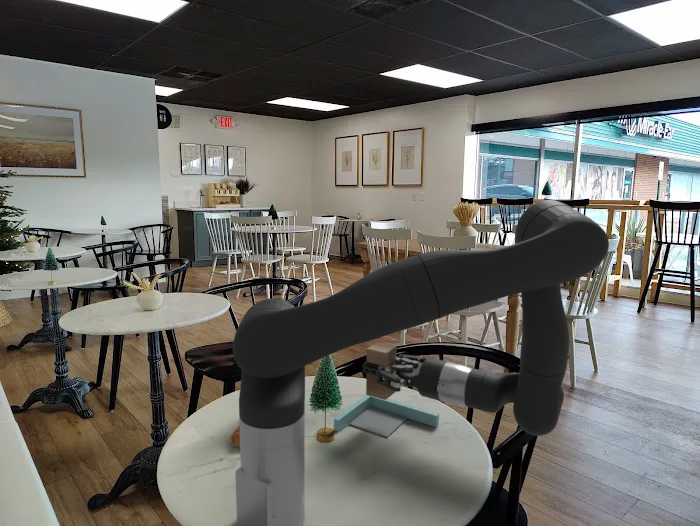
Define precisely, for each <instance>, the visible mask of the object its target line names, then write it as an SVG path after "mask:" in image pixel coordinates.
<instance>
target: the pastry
mask: <svg viewBox="0 0 700 526" xmlns="http://www.w3.org/2000/svg"><path fill="white" fill-rule="evenodd" d="M230 445H231V446H233V447H235V448H239V449H240V425H238V427H237V428H236V429H235V430H234V431H233V432H232V434H231V436H230Z"/></svg>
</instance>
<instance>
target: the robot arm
mask: <svg viewBox="0 0 700 526" xmlns="http://www.w3.org/2000/svg"><path fill="white" fill-rule="evenodd" d="M609 247H610V242H609V237H608V236H607V233H606V231H605V230H604V229H603V228H602V227H601V226H600V225H599V224H598V223H597V222H596V221H594V220H593V219H592V218H590V217H589V216H587V215H585V214H584V213H582V212H580V211H577V209H575V208H573V207H572V206H569V205H568V204H566V203H563V202H561V201H558V200H555V199H554V200H553V199H544V200H541V201H540V200H539V201H537V202H534V203H532V204H531V205H530V206H529V207H528V208H527V209H525V210H524V212H523V213H522V214H521V216H520V217H519V219H518V221H517V224H516V228H515V243H513V244H510V245H506V246H502V247H497V248H491V249H489V248H488V249H441V250H431V251H426V252H422V253H419V254H416V255H413V256H410V257H407V258H403V259H401V260H398V261H394V262H391V263H388V264H387V265H384V266H381V267H379V268H377V269H375V270H374V271H372V272H370V273H368V274H366V275H364V276H363V277H362V278H359V279H357V280H356V281H355V282H352V283H351V284H350V285H348V286H346V287H344V288H342V289H341V290H340V291H338V292H336V293H335V294H332V295H330V296H327V297H324V298H322V299H320V300H316V301H312V302H309V303H305V304H301V305H297V306H294V305H293V304H292V303H291V302H288V301H287V300H284V299H282V298H281V299H280V298H274V297H273V298H266V299H261V300H260V301H257V302H256V303H254V304H253V305H251V306H250V307H249V309H248V310H247V311H246V312H245V313H244V315H243V317H242V319H241V321H240V323H239V325H238V327H237V328H236V331H235V334H234V337H233V342H232V354H233V358H234V361H235V363H236V365H237V366H238V367H239V368H240V369H241V375H240V376H241V377H240V379H241V380H240V388H239V397H238V413H239V414H238V415H239V417H238V419H239V422H238V423H239V426H240V448H239V453H240V454H239V455H240V457H239V459H240V467H238V468H237V469H236V470H235V474H234V475H235V499H236V500H235V504H236V526H303V525H304V523H305V519H306V518H305V517H306V516H305V515H306V513H305V511H306V510H305V509H306V508H305V505H306V502H305V501H306V499H305V497H306V496H305V495H306V494H305V493H306V492H305V491H306V490H305V489H306V487H305V486H306V485H305V483H306V481H305V479H306V478H305V468H306V467H305V464H306V462H305V461H306V459H305V454H306V453H305V450H306V448H305V447H306V446H305V445H306V443H305V442H306V441H305V440H306V439H305V438H306V437H305V435H306V434H305V433H306V432H305V428H306V427H305V426H306V425H305V418H306V417H305V415H306V414H305V407H306V406H305V402H306V401H305V399H306V366H307V365H310V364H313V363H314V362H316V361H319V360H321V359H324V358H325V357H328V356H330V355H332V354H335V353H337V352H339V351H342V350H345V349H347V348H351V347H353V346H356V345H360V344H364V343H367V342H370V341H374V340H376V339H380V338H383V337H387V336H389V335H392V334H395V333H398V332H402V331H406V330H409V329H412V328H416V327H418V326H421V325H425V324H428V323H430V322H433V321H436V320H438V319H442V318H445V317H446V316H449V315H452V314H455V313H458V312H461V311H464V310H468V309H470V308H473V307H477V306H480V305H483V304H487V303H490V302H493V301H495V300H500V299H502V298H506V297H510V296H514V295H518V294H521V312H522V313H521V315H522V317H521V318H522V324H521V325H522V329H521V343H520V353H519V372H502V373H495V372H490V371H486V370H481V369H477V368H472V367H470V366H466V365H464V364H461V363H457V362H452V361H451V362H450V361H447V360H443V359H437V358H434V357H427V356H420V355H412V354H411V355H410V354H399V355H398V356H396V365H391V366H390V367H389V366H380V365H377V364H373V363H368V362H367V361H365V362H363V363H362V373H364V374H365V375H366V374H370V375H374V376H377V380H376V382H377V383H378V384H381V385H383V386H385V387H387V388H389V389H391V390H394V391H396V392H398V393H399V392H401V389H402V388H401V387H404V386H405V387H411V388H415V389H417V391H418V394H419V395H420V396H421V397H424V398H428V399H432V400H435V401H438V402H442V403H447V404H449V405H454V406H460V407H461V406H462V407H466V408H467V407H468V408H470V409H475V410H479V411H482V412H485V413H490V414H491V413H493V414H495V413H497V412H499V411H500V410H501V409H502V408H503V407H504V406H505V405H507V404H513V405H512V411H513V413H512V414H513V417H514V419H515V423H516V424H517V425H518V427H520V429H521V430H523V431H524V432H525V433H527V434H529V435H532V436H537V437H539V436H540V437H541V436H546V435H548V434H549V433H551V432H553V430H555V429H556V427H557V425H558V422H559V418H560V415H561V414H560V413H561V411H562V408H563V407H562V406H563V404H564V400H565V399H564V398H565V393H564V390H563V388H562V384H563V382H564V378H565V376H566V371H567V367H568V365H567V364H568V357H569V353H570V332H569V324H568V320H567V315H566V312H565V311H566V310H565V308H564V302H563V297H562V290H561V284H565V283H569V282H573V281H576V280H578V279H580V278H582V277H585V276H586V275H588V274H589V273H591V272H592V271H594V270H595V269H596V268H598V267H599V265H600V264H601V263H602V262H603V261H604V260H605V258H606V257H607V254H608V251H609ZM394 370H396V375H394ZM386 371H389V372H390V373H388V372H386ZM396 392H395V393H396Z"/></svg>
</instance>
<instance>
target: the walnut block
mask: <svg viewBox="0 0 700 526" xmlns="http://www.w3.org/2000/svg"><path fill="white" fill-rule="evenodd" d="M397 348H398V347H397V345H391V344H386V343H382V342H375V343H374V344H372V345H371V346H369V347H367V348H366V362H368V363H373V364H377V365H380V366H389V367H390V366H391V365H396V357H397ZM386 372H388V373H390V372H389V371H386ZM365 375H366V376H365V378H366V379H365V380H366V381H365V383H366V387H365V389H366V390H365V391H366V392H365V395H369V396H373V397H376V398H380V399H383V400H386V399H390V397H391V396H392V395H393V394H395V393H396V391H394V390H391V389H389V388H387V387H385V386H383V385H381V384H378V383H377V382H376V380H377V376H374V375H370V374H366V373H365ZM394 375H396V370H394Z"/></svg>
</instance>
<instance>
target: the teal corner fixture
mask: <svg viewBox="0 0 700 526" xmlns="http://www.w3.org/2000/svg"><path fill="white" fill-rule="evenodd" d="M407 420H412V421H415V422H419V423H422V424H423V425H428V426H431V427H435V428H437V427H439V425H440V424H439V423H440V421H439V420H440V413H438V412H434V411H431V410H429V409H424V408H421V407H418V406H414V405H411V404H408V403H403V402H401V401H397V400H395V399H394V400H393V399H390V398H387V399H386V400H383V399H380V398H376V397H373V396H369V395H366V394H365V395H364V396H362V398H360V399H358V400H357V401H356V402H355V403H353V404H352V405H351V406H349V407H348V408H346V409H344V411H342V412H341V413H339V414H338V415H336V416H335V417H334V418H333V431H335V432H340V431H342V430H343V429H344V428H346V427H347V426H348V425H349V426H352V427H355V428H358V429H361V430H363V431H365V432H369V433H373V434H375V435H378V436H381V437H383V438H386V439H388V438H389V437H390V436H391V435H392V434H393V433H395V432H396V431H397V429H399V428H400V427H401V426H402V425H403V424H404V422H406V421H407Z"/></svg>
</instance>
